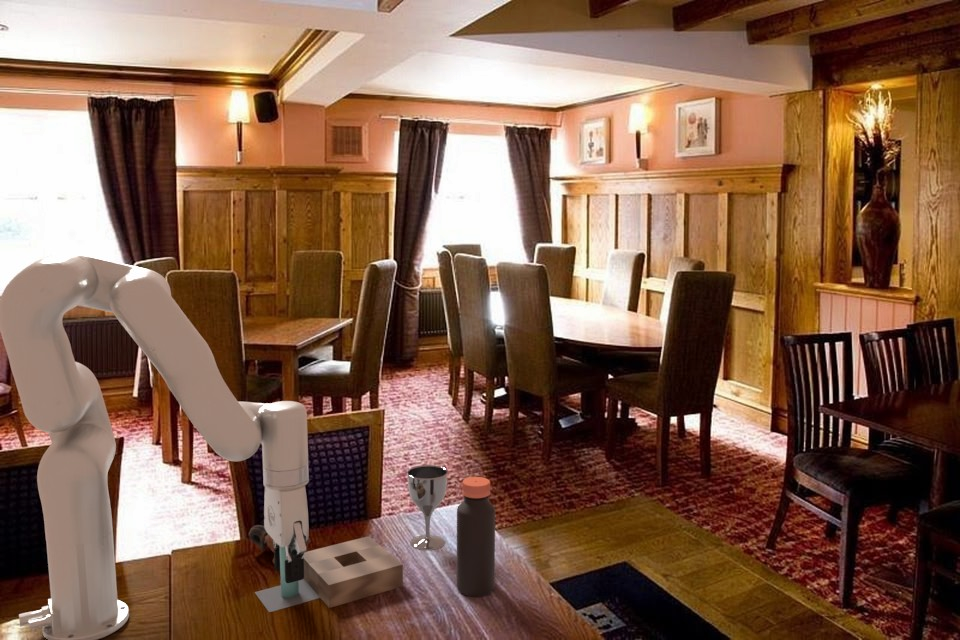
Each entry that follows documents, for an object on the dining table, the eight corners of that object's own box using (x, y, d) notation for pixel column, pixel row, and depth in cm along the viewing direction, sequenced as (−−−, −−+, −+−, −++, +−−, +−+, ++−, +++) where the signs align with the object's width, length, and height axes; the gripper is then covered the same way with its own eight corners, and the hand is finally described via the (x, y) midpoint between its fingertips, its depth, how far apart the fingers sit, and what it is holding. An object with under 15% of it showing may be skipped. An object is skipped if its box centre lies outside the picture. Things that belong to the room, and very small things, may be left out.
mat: (269, 614, 131) (269, 612, 131) (254, 594, 137) (254, 592, 137) (325, 598, 136) (325, 596, 136) (308, 579, 143) (308, 577, 143)
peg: (284, 600, 135) (282, 534, 133) (278, 592, 137) (276, 528, 135) (301, 595, 136) (299, 530, 135) (295, 588, 139) (293, 524, 137)
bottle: (490, 599, 136) (491, 489, 133) (452, 595, 138) (452, 486, 134) (497, 581, 143) (498, 476, 140) (461, 577, 144) (461, 473, 141)
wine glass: (454, 539, 160) (455, 469, 158) (432, 554, 153) (431, 481, 151) (423, 531, 164) (423, 462, 162) (400, 544, 157) (399, 473, 155)
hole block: (329, 609, 132) (328, 585, 132) (299, 576, 144) (299, 553, 143) (402, 588, 140) (402, 564, 139) (369, 558, 152) (368, 536, 151)
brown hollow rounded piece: (311, 544, 159) (316, 518, 154) (299, 584, 151) (304, 558, 146) (253, 530, 158) (256, 504, 153) (237, 569, 150) (240, 543, 145)
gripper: (249, 464, 138) (253, 561, 141) (281, 494, 124) (285, 601, 127) (290, 456, 142) (293, 551, 145) (325, 485, 128) (328, 589, 131)
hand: (289, 573), depth 136 cm, fingers open, 4 cm apart
